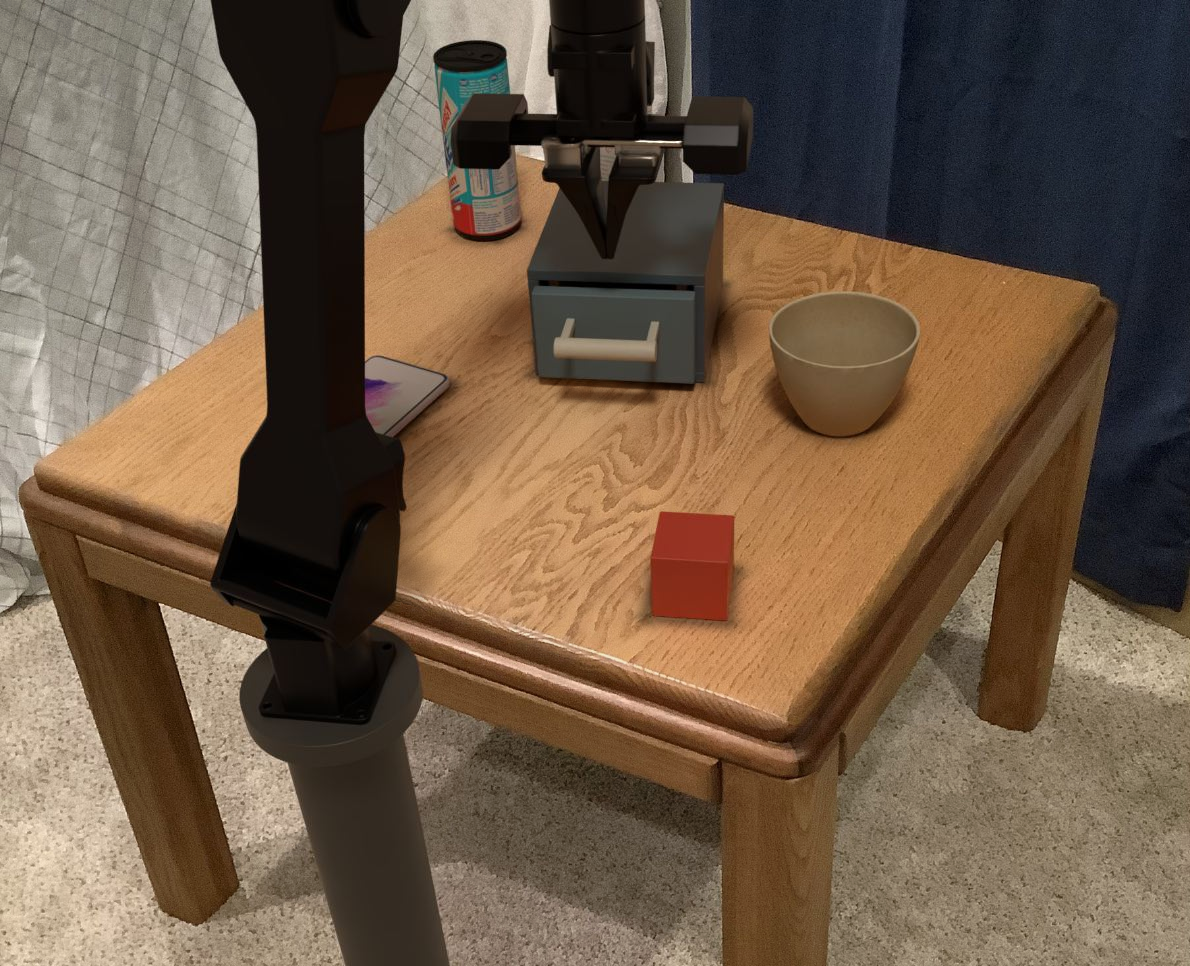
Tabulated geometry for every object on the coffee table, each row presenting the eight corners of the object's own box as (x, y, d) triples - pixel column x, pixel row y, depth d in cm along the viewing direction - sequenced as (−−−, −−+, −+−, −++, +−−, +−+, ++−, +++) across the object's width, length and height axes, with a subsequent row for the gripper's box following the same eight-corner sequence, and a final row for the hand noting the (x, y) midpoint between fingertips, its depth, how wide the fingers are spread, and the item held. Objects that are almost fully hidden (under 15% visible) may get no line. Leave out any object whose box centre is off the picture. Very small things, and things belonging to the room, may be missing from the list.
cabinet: (704, 382, 104) (705, 275, 98) (535, 375, 106) (526, 269, 100) (722, 284, 115) (724, 182, 109) (569, 279, 117) (562, 179, 111)
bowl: (861, 365, 105) (869, 277, 100) (937, 434, 98) (950, 342, 93) (740, 400, 102) (742, 311, 97) (810, 473, 95) (816, 381, 90)
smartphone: (453, 375, 105) (331, 484, 95) (454, 385, 105) (333, 494, 96) (373, 352, 108) (246, 456, 98) (375, 362, 108) (249, 466, 99)
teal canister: (481, 206, 127) (463, 35, 117) (535, 221, 125) (521, 46, 115) (440, 233, 124) (417, 59, 114) (494, 249, 121) (476, 72, 111)
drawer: (687, 416, 99) (687, 330, 95) (527, 409, 101) (519, 324, 96) (712, 291, 112) (712, 210, 108) (569, 286, 114) (564, 206, 109)
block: (727, 621, 85) (728, 562, 82) (651, 616, 85) (650, 557, 82) (733, 572, 88) (734, 514, 85) (661, 568, 89) (659, 510, 86)
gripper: (763, -26, 90) (756, 206, 101) (476, -27, 93) (498, 200, 103) (749, 37, 82) (743, 283, 92) (435, 35, 85) (463, 274, 95)
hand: (608, 256), depth 96 cm, fingers closed
